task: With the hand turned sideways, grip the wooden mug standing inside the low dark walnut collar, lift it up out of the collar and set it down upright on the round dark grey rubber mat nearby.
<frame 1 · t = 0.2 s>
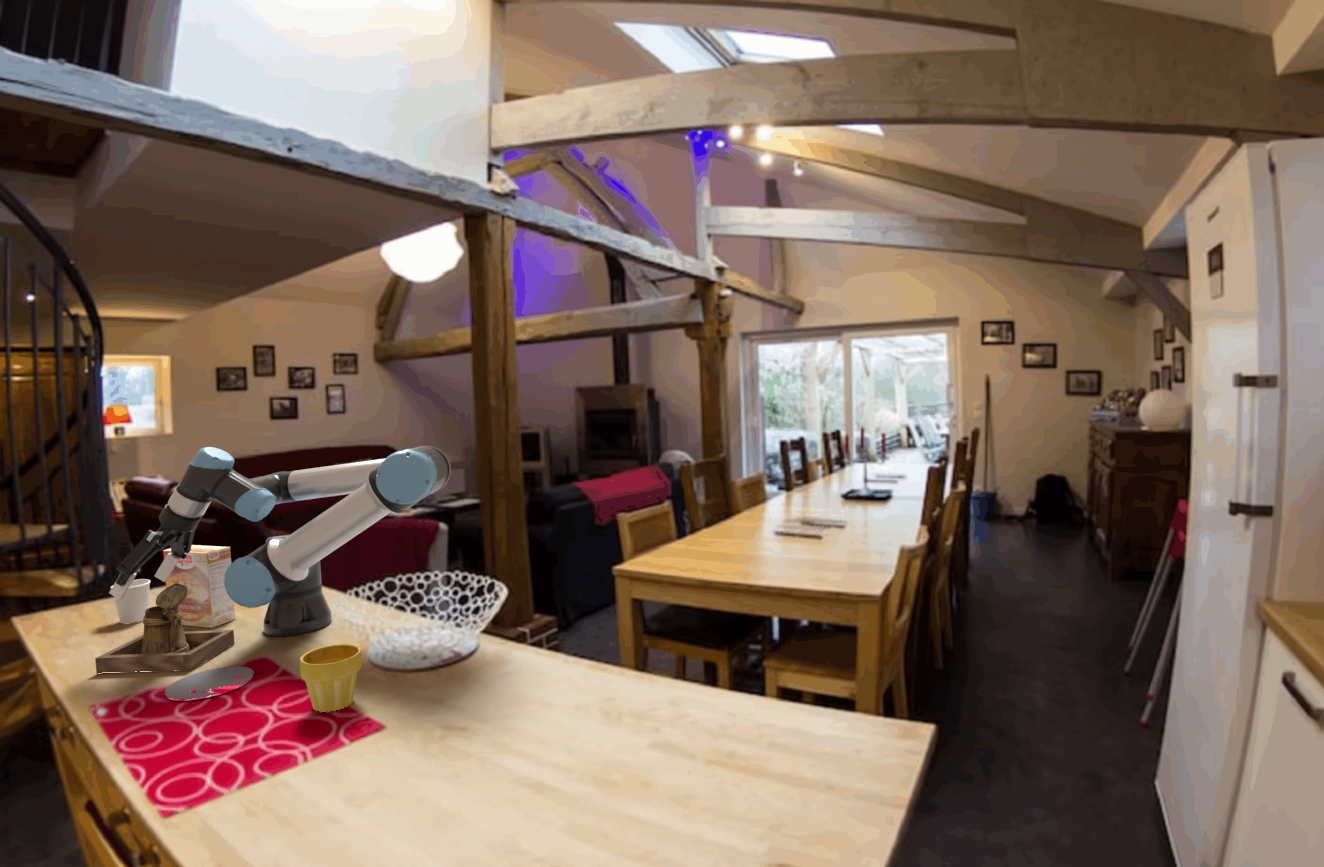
hand: (138, 586, 157), 15 cm above the kitchen island, tool tilted 35°, fingers open, 13 cm apart
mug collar: (169, 658, 152), on the kitchen island
dixie cup: (134, 621, 180), on the kitchen island
grey mat: (210, 684, 137), on the kitchen island
coffeecake box: (202, 622, 177), on the kitchen island
plant pot: (334, 705, 127), on the kitchen island
wooden mug: (169, 659, 152), resting in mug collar
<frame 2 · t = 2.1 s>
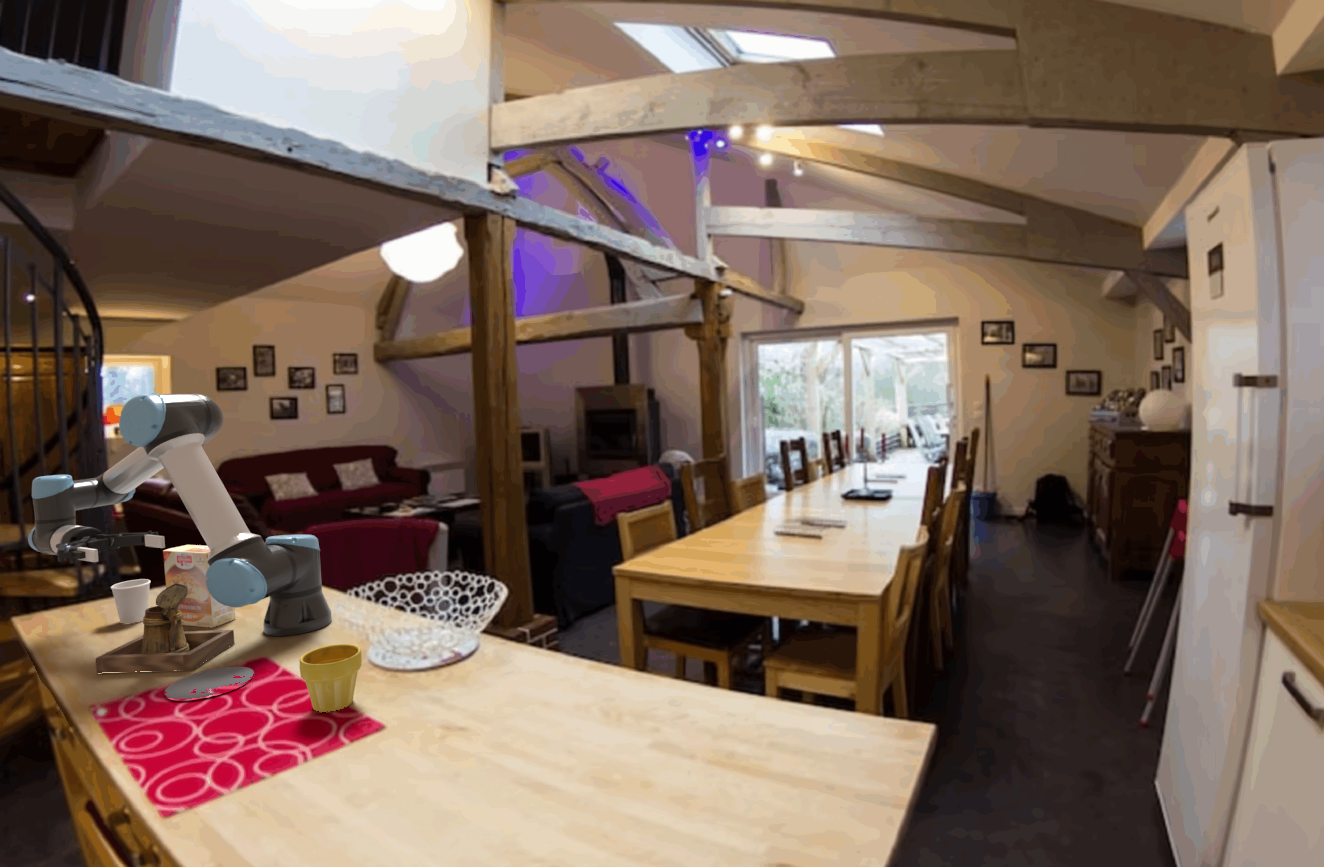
hand: (131, 548, 155), 24 cm above the kitchen island, tool horizontal, fingers open, 13 cm apart
nothing on the kitchen island moved.
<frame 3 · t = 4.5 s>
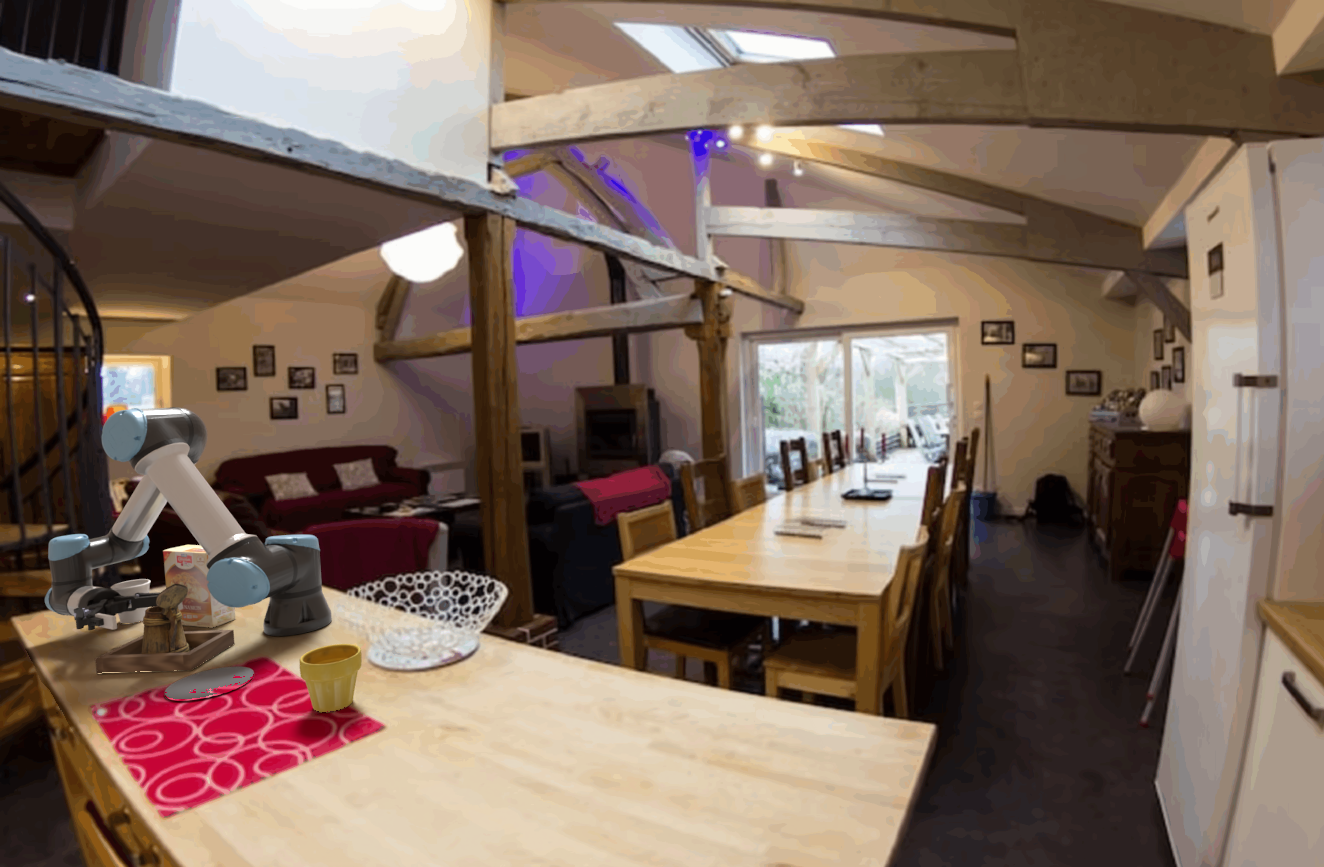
hand: (149, 612, 154), 10 cm above the kitchen island, tool horizontal, fingers open, 13 cm apart
nothing on the kitchen island moved.
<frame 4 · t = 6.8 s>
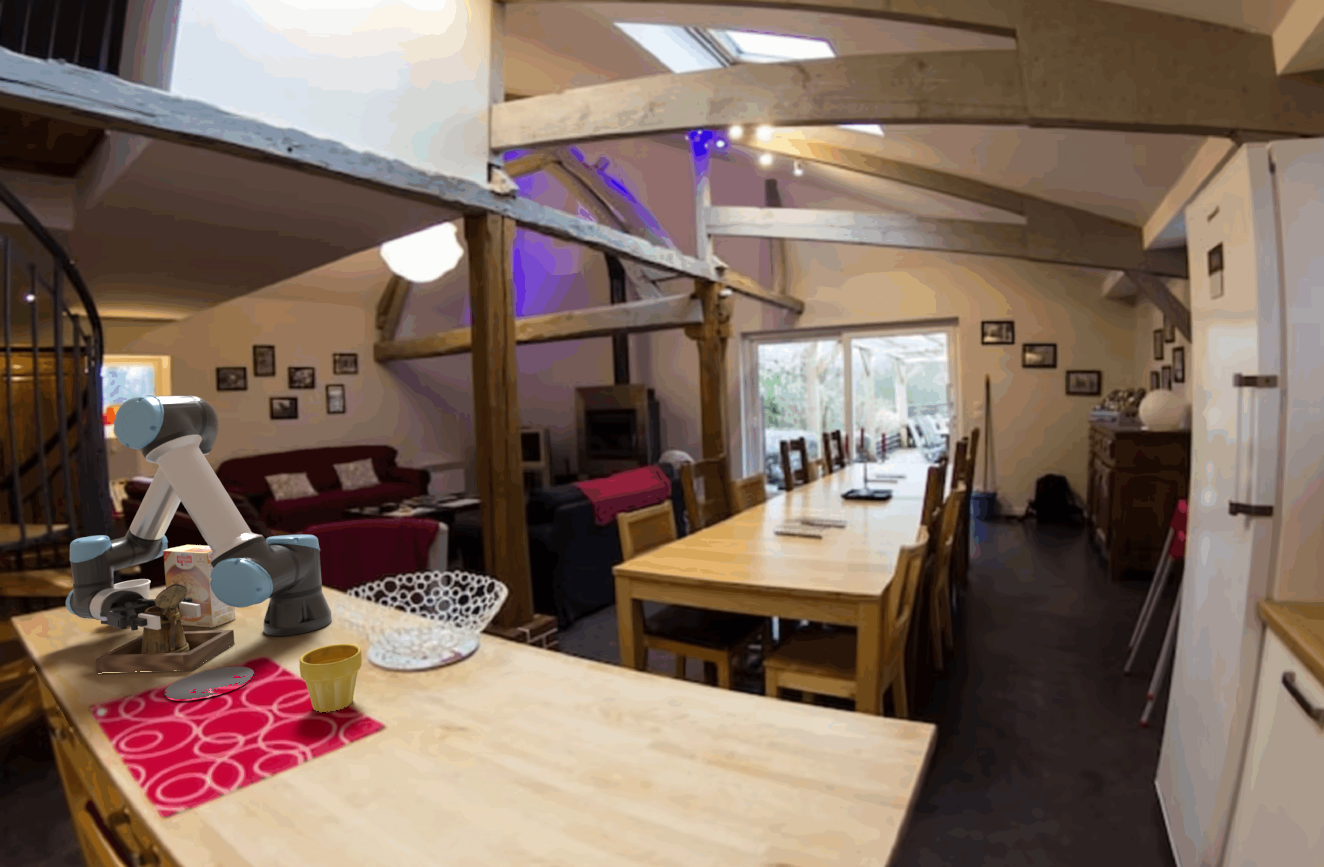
hand: (179, 616, 150), 10 cm above the kitchen island, tool horizontal, fingers open, 8 cm apart
wooden mug: (169, 659, 152), resting in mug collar, touching gripper
everything else where it was.
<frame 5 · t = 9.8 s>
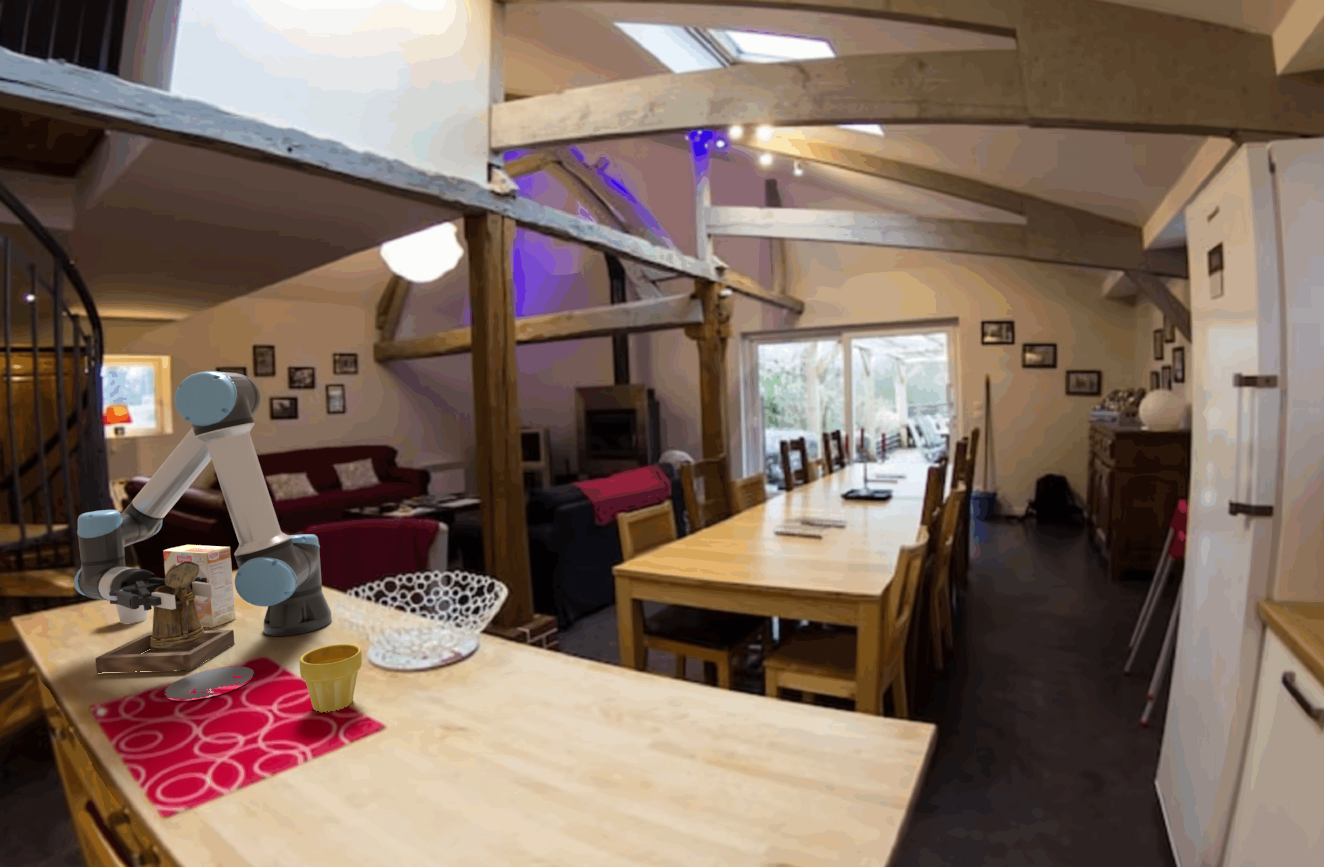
hand: (193, 596, 137), 18 cm above the kitchen island, tool horizontal, fingers closed on wooden mug, 7 cm apart
wooden mug: (182, 642, 140), point 8 cm above the kitchen island, touching gripper
everything else where it was.
when the fingers open (12 cm above the kitchen island, at t = 12.4 s): wooden mug drops 1 cm, resting on grey mat.
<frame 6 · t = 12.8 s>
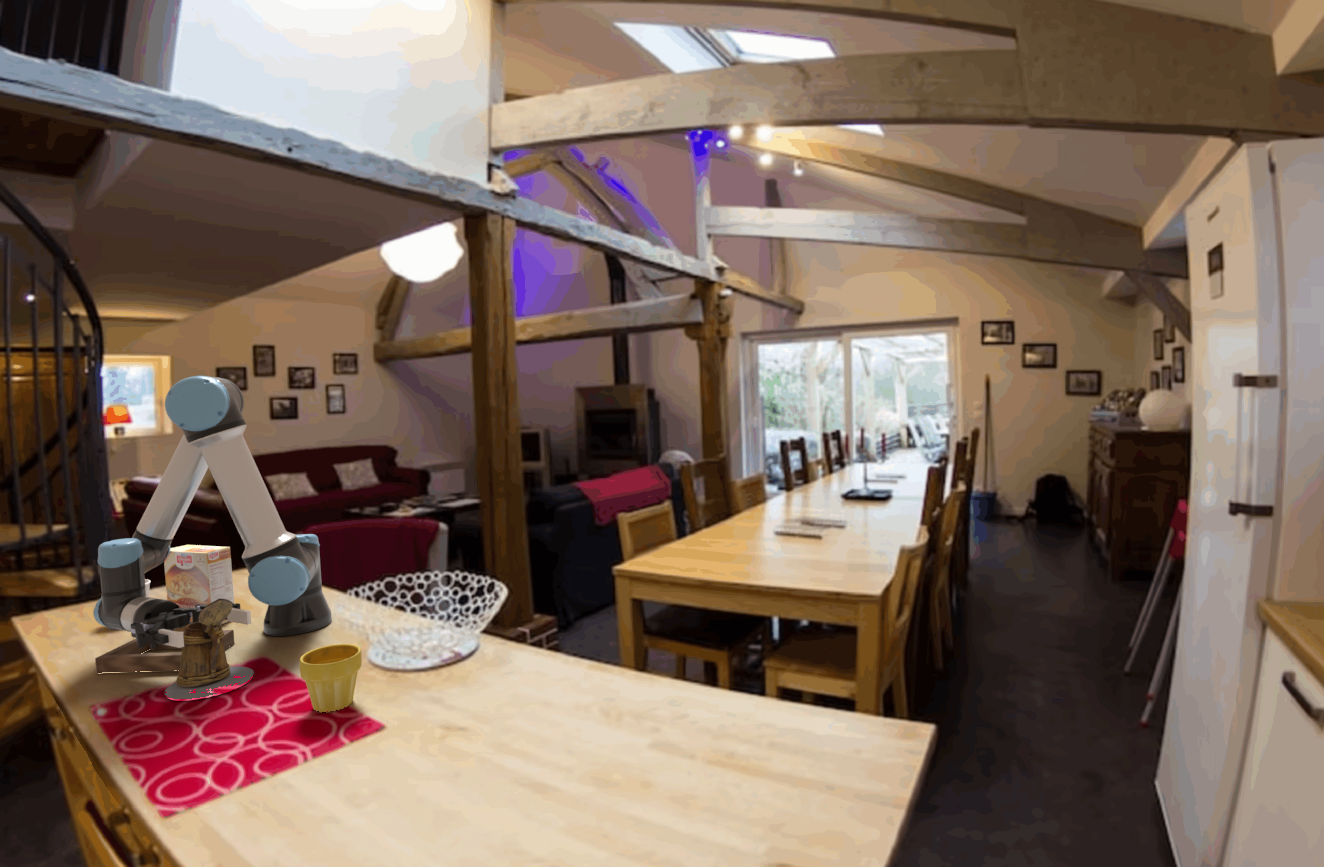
hand: (216, 628, 135), 12 cm above the kitchen island, tool horizontal, fingers open, 13 cm apart
wooden mug: (208, 682, 137), point 1 cm above the kitchen island, touching grey mat
everything else where it was.
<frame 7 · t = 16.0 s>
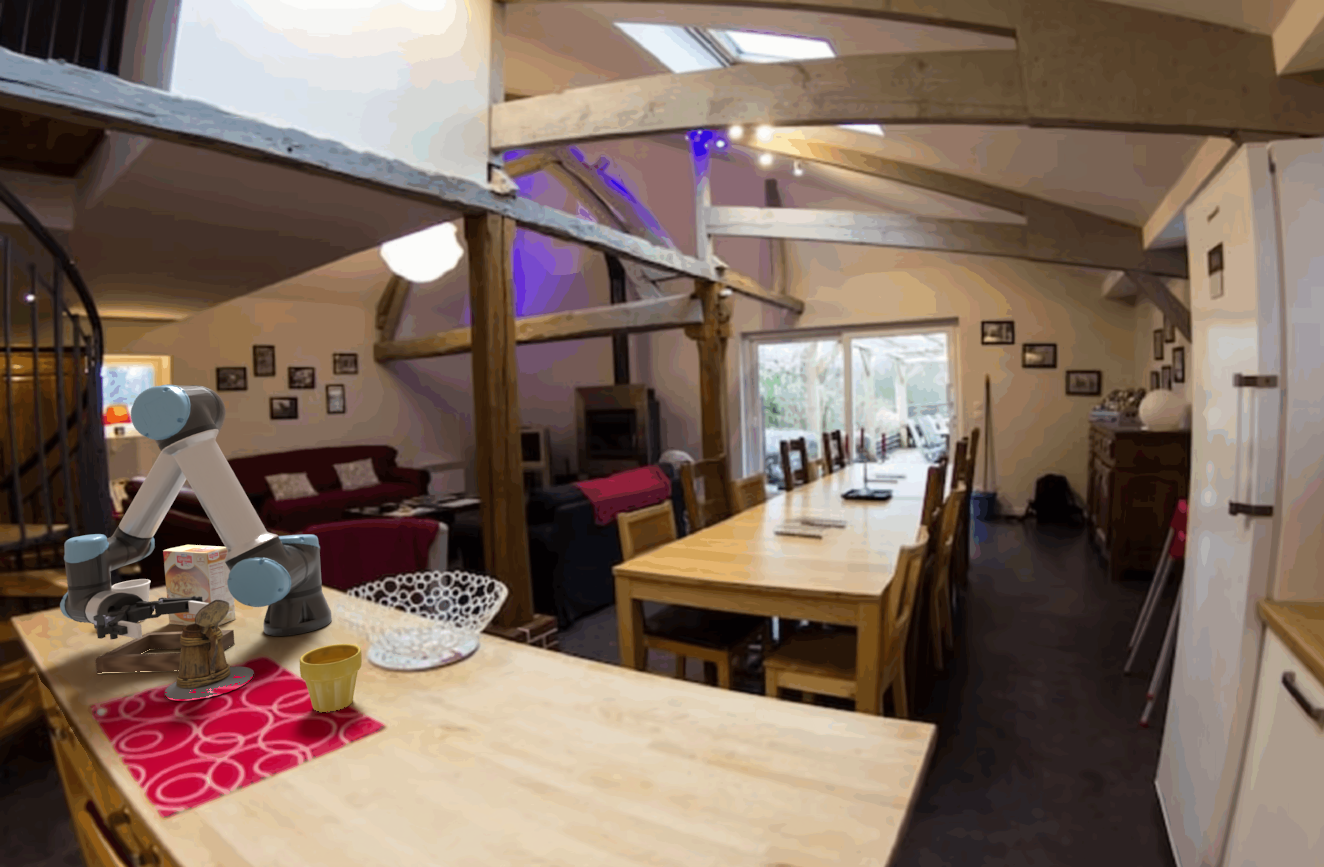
hand: (176, 620, 141), 12 cm above the kitchen island, tool horizontal, fingers open, 13 cm apart
nothing on the kitchen island moved.
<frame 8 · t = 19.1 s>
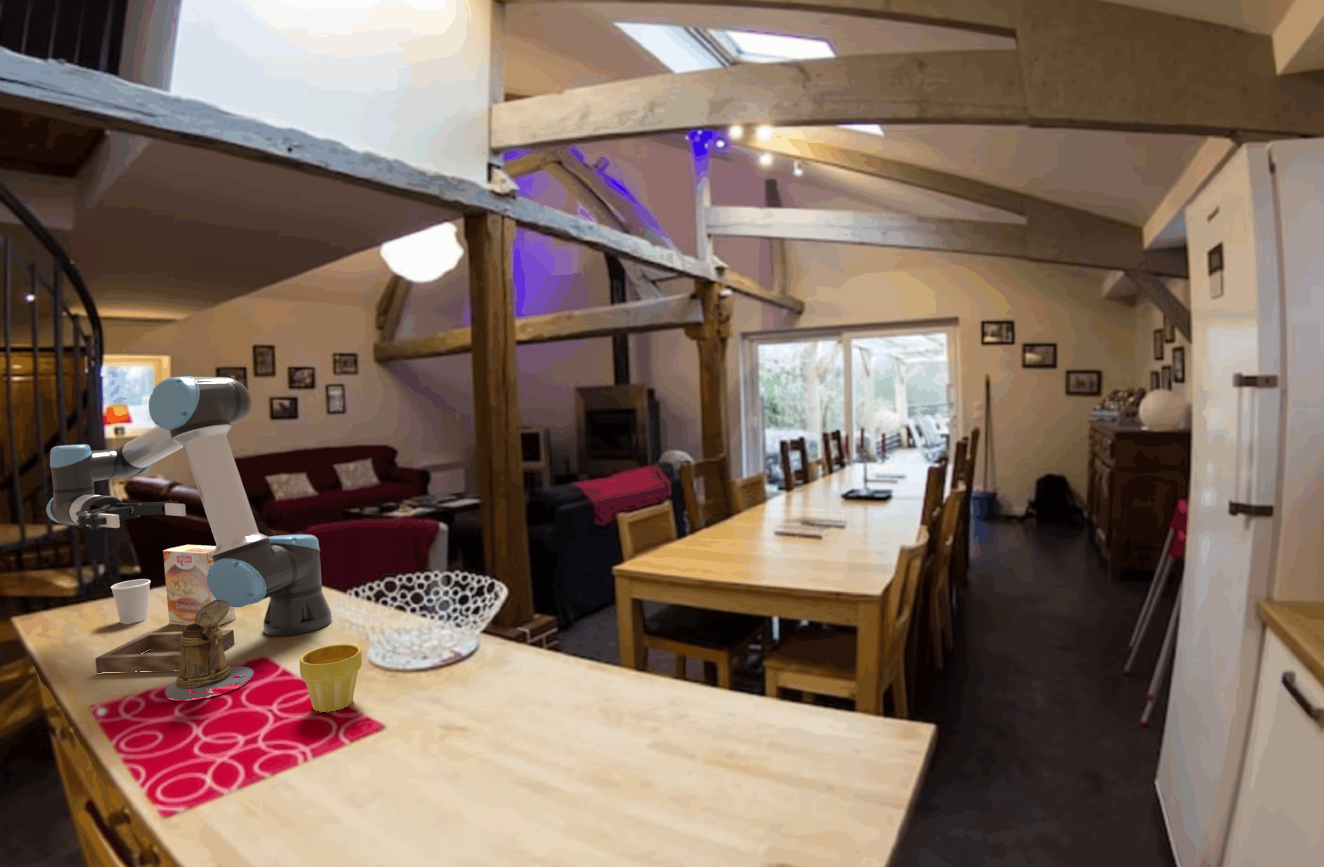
hand: (152, 515, 153), 32 cm above the kitchen island, tool horizontal, fingers open, 13 cm apart
nothing on the kitchen island moved.
at the end: wooden mug inside the target area (0.3 cm from its centre), resting on grey mat; wooden mug tilted 0°; the gripper is holding nothing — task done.
